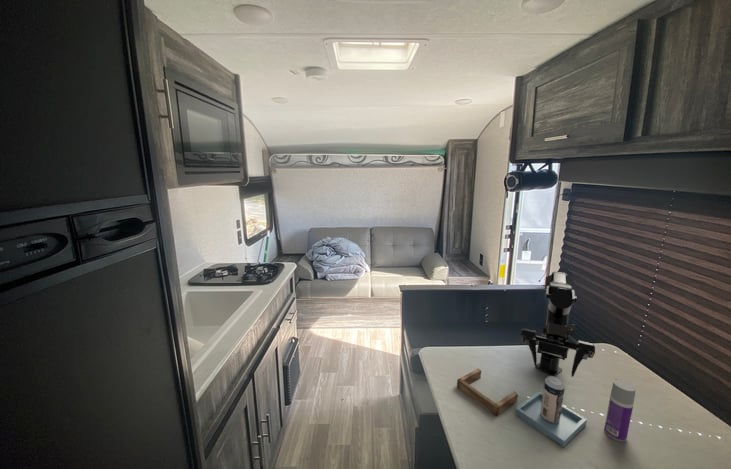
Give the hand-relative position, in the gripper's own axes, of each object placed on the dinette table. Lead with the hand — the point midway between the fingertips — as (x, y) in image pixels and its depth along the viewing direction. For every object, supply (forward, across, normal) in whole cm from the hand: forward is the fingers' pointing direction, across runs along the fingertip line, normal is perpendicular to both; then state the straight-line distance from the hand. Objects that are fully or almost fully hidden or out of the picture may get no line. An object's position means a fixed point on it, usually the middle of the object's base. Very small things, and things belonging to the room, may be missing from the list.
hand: (553, 371), depth 86 cm
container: (+10, +15, +9) cm, 20 cm away
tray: (+12, 0, +5) cm, 13 cm away
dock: (+11, -17, +6) cm, 21 cm away
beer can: (+12, 0, +5) cm, 13 cm away
